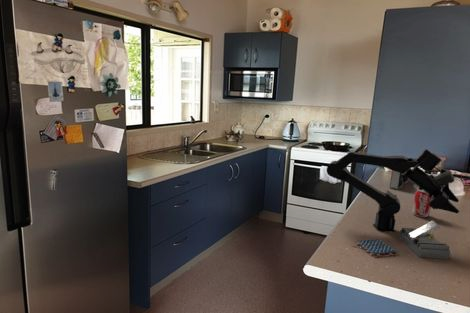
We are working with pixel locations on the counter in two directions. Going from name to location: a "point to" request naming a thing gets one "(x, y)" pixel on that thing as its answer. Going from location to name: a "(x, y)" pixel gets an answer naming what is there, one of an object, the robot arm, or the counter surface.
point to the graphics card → (397, 180)
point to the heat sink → (425, 245)
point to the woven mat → (376, 248)
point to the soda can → (421, 204)
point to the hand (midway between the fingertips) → (458, 206)
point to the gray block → (423, 230)
